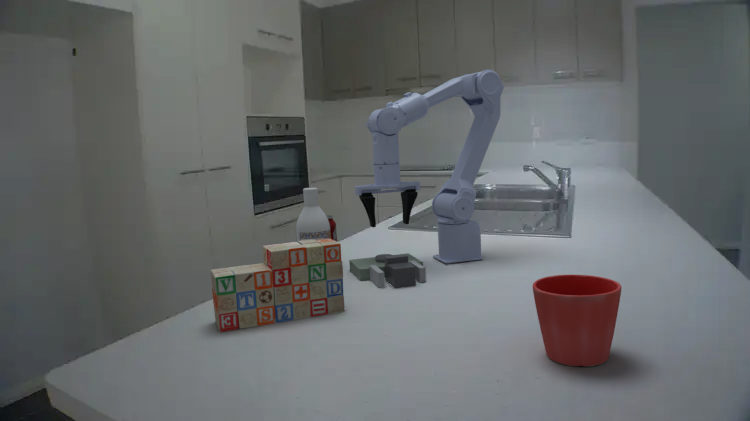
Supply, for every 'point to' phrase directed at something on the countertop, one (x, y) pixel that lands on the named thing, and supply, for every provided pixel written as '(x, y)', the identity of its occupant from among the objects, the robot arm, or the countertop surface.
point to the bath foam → (312, 219)
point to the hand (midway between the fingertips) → (389, 225)
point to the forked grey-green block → (381, 269)
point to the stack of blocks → (280, 285)
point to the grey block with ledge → (399, 271)
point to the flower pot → (577, 317)
